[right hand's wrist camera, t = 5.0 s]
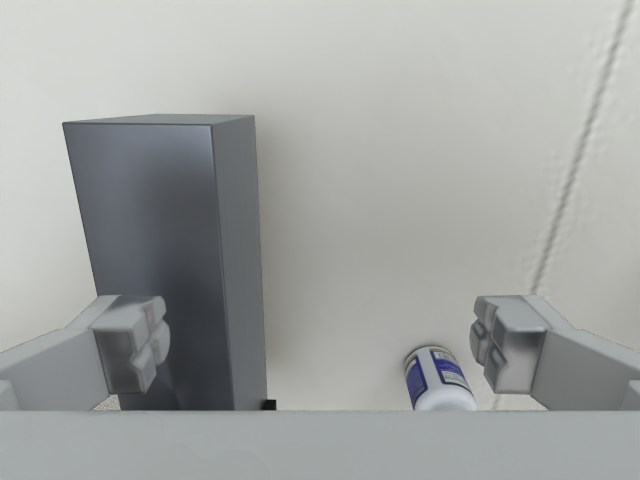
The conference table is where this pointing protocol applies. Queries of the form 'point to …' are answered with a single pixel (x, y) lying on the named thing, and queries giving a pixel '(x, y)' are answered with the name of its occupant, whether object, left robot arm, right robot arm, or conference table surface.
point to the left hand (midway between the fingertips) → (228, 412)
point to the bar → (180, 246)
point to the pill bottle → (437, 381)
